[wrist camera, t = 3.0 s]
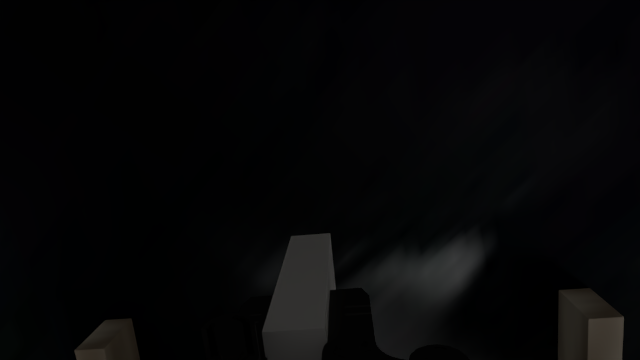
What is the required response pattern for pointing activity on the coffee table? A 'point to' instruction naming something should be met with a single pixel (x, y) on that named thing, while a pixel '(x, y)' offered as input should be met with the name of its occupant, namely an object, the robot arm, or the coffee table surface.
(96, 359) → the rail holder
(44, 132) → the coffee table surface
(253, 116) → the coffee table surface
